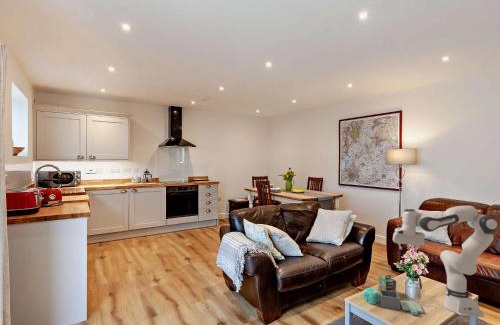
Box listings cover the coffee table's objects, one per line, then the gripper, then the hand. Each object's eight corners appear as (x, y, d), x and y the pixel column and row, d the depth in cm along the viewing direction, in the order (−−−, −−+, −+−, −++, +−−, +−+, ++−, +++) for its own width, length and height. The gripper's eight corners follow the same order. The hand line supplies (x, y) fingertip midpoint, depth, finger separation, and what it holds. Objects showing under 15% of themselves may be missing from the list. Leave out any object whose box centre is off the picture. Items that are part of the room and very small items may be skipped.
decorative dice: (362, 300, 202) (363, 289, 202) (369, 297, 206) (369, 287, 206) (372, 305, 195) (373, 294, 195) (379, 302, 200) (379, 291, 199)
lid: (418, 305, 196) (418, 302, 196) (425, 317, 182) (425, 313, 182) (399, 303, 199) (399, 299, 199) (404, 314, 185) (404, 310, 185)
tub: (396, 302, 199) (396, 291, 199) (399, 310, 190) (400, 298, 190) (378, 299, 203) (379, 289, 203) (381, 307, 193) (381, 296, 193)
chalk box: (388, 289, 218) (388, 271, 218) (396, 295, 209) (396, 276, 209) (377, 290, 217) (378, 272, 216) (385, 296, 208) (386, 277, 207)
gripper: (423, 231, 199) (422, 250, 199) (392, 228, 204) (391, 246, 205) (426, 233, 192) (425, 253, 193) (394, 231, 198) (393, 249, 199)
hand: (407, 249), depth 199 cm, fingers open, 8 cm apart
